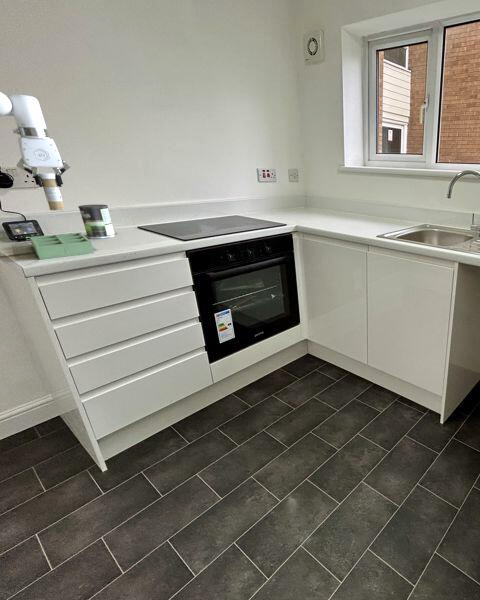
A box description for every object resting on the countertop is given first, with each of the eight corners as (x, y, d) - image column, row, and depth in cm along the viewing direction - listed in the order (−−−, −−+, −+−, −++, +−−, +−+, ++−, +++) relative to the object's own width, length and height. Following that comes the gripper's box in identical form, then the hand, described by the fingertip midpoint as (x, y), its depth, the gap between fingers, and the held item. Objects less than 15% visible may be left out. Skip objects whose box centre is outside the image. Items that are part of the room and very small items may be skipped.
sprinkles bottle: (54, 209, 137) (43, 172, 133) (68, 209, 139) (57, 173, 134) (46, 210, 133) (34, 173, 128) (61, 210, 134) (49, 173, 130)
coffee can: (95, 239, 157) (86, 207, 152) (82, 237, 161) (73, 205, 156) (120, 236, 166) (112, 205, 161) (107, 233, 170) (99, 203, 165)
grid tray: (39, 259, 126) (35, 247, 124) (33, 248, 140) (29, 237, 138) (94, 252, 137) (91, 241, 135) (83, 243, 151) (80, 232, 149)
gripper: (0, 131, 118) (19, 188, 125) (67, 135, 130) (81, 187, 137) (-1, 132, 122) (17, 186, 129) (63, 136, 134) (78, 185, 141)
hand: (50, 186), depth 133 cm, fingers closed on sprinkles bottle, 4 cm apart
